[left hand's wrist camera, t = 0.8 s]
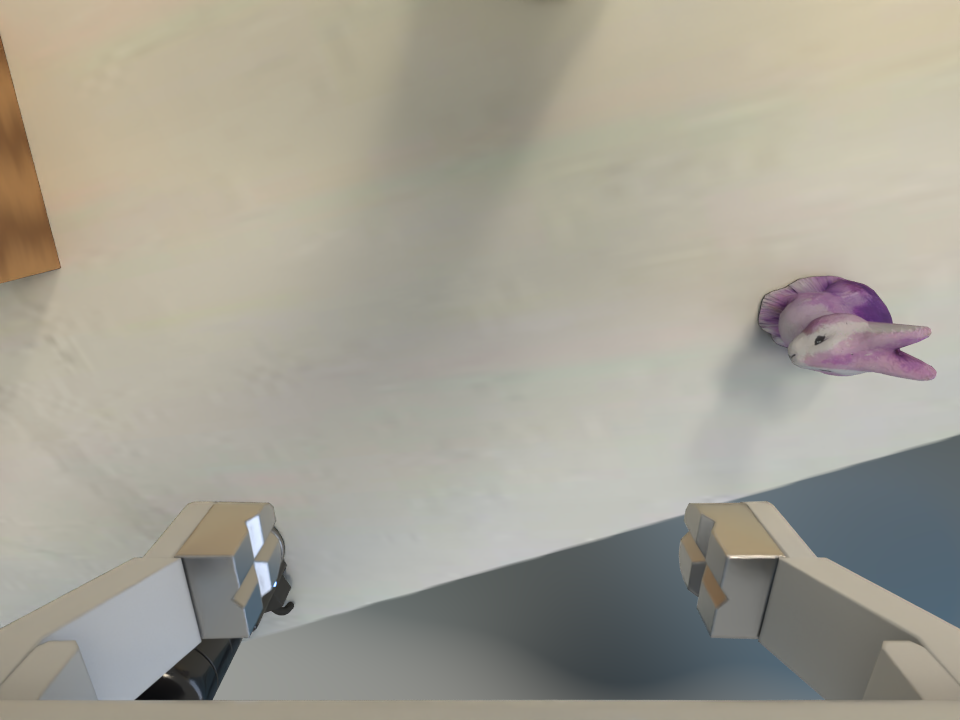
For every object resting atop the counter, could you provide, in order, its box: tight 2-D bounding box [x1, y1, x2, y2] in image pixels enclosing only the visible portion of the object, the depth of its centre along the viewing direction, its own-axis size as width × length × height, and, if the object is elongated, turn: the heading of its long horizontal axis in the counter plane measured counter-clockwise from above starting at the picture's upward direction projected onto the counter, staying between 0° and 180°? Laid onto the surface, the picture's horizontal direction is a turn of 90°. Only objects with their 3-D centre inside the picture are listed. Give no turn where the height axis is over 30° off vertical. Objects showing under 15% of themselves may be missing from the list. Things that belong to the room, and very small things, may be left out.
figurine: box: [759, 276, 936, 381], centre depth 47 cm, size 9×10×15 cm
